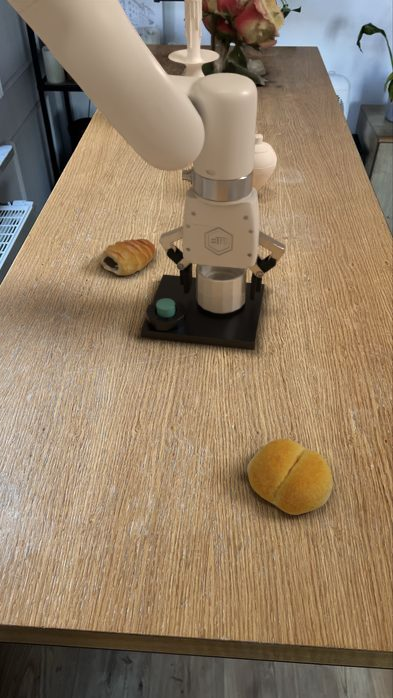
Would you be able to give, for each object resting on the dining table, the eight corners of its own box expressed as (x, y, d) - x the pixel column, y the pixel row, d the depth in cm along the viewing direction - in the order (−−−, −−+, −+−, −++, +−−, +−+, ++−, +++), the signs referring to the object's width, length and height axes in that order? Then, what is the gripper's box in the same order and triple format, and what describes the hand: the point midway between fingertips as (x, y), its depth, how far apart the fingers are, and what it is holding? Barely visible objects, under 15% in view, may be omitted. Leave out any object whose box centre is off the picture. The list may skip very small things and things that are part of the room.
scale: (141, 337, 83) (139, 321, 81) (163, 281, 93) (162, 265, 91) (254, 350, 81) (255, 333, 79) (264, 291, 91) (265, 275, 89)
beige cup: (192, 313, 85) (191, 279, 81) (201, 285, 90) (201, 251, 86) (242, 318, 84) (243, 284, 80) (248, 289, 89) (249, 255, 85)
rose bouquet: (283, 87, 162) (293, -43, 142) (177, 88, 162) (173, -41, 142) (272, 59, 181) (280, -58, 162) (178, 61, 181) (174, -56, 161)
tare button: (154, 317, 82) (154, 308, 81) (159, 306, 84) (158, 297, 83) (173, 319, 82) (172, 310, 81) (176, 307, 84) (176, 299, 83)
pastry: (138, 243, 102) (136, 224, 99) (166, 258, 98) (165, 238, 96) (96, 266, 97) (94, 246, 94) (124, 282, 93) (122, 262, 91)
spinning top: (226, 196, 114) (227, 135, 106) (252, 183, 118) (255, 124, 111) (256, 209, 110) (260, 147, 102) (281, 195, 114) (287, 134, 106)
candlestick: (142, 148, 132) (131, 7, 114) (159, 109, 151) (152, -18, 132) (233, 151, 130) (238, 8, 112) (239, 111, 149) (244, -18, 130)
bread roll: (308, 531, 60) (313, 509, 57) (236, 487, 64) (237, 464, 61) (345, 477, 65) (351, 454, 62) (276, 439, 69) (278, 416, 66)
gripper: (149, 189, 73) (156, 300, 84) (289, 200, 70) (278, 313, 82) (162, 164, 78) (168, 271, 90) (293, 173, 76) (282, 282, 87)
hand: (220, 291), depth 86 cm, fingers open, 9 cm apart
